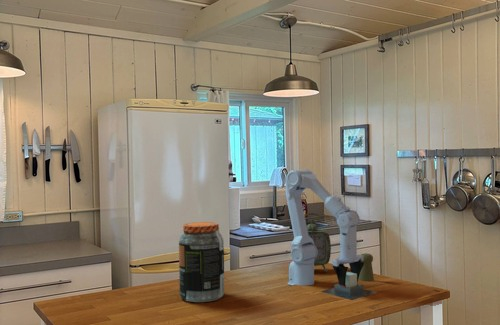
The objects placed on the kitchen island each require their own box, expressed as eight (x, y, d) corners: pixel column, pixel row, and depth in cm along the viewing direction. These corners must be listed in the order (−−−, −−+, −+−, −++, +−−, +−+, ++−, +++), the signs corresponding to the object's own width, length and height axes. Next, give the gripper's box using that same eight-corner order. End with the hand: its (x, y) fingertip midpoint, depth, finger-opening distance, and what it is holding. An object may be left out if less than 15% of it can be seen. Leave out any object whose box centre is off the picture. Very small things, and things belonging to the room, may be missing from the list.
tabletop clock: (296, 274, 207) (295, 214, 207) (294, 269, 216) (293, 212, 216) (331, 273, 207) (330, 214, 207) (327, 268, 216) (327, 211, 216)
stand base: (320, 294, 177) (320, 282, 177) (346, 287, 186) (346, 275, 186) (351, 303, 166) (351, 290, 166) (377, 295, 175) (377, 283, 175)
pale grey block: (340, 291, 176) (340, 273, 176) (348, 289, 179) (347, 271, 179) (349, 294, 173) (349, 275, 173) (357, 292, 175) (357, 273, 175)
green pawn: (374, 284, 190) (374, 255, 189) (358, 283, 191) (358, 255, 191) (373, 280, 196) (373, 252, 195) (358, 279, 197) (358, 252, 197)
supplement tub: (232, 294, 178) (232, 222, 177) (208, 306, 164) (207, 228, 164) (196, 289, 185) (195, 219, 185) (170, 300, 171) (169, 225, 171)
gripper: (343, 249, 168) (343, 289, 168) (370, 244, 177) (370, 282, 177) (328, 246, 173) (328, 285, 173) (354, 241, 182) (354, 278, 183)
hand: (348, 283), depth 176 cm, fingers open, 6 cm apart
